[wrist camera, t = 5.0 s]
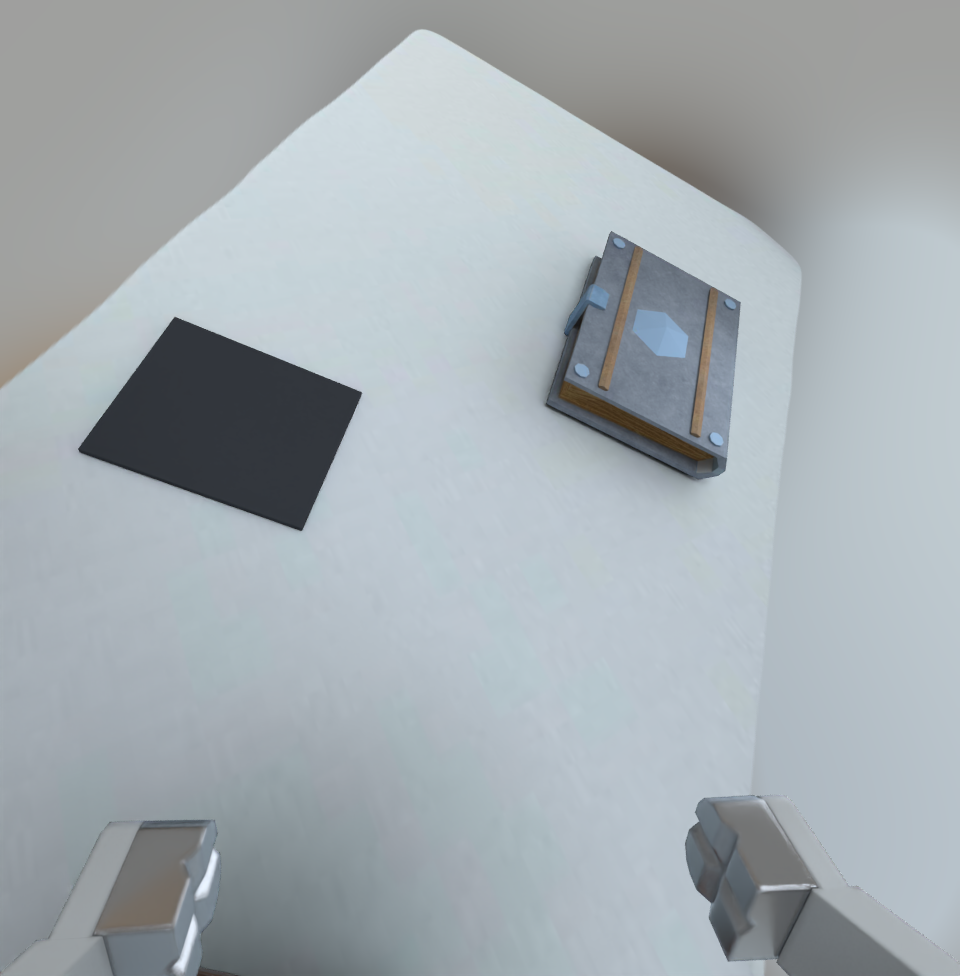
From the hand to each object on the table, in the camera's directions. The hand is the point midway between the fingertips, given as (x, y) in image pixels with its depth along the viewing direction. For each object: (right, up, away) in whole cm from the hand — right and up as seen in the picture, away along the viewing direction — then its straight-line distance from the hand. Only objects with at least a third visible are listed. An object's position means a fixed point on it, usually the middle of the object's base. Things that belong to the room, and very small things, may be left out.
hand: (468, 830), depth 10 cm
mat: (-16, +10, +31) cm, 36 cm away
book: (+16, +18, +48) cm, 53 cm away
